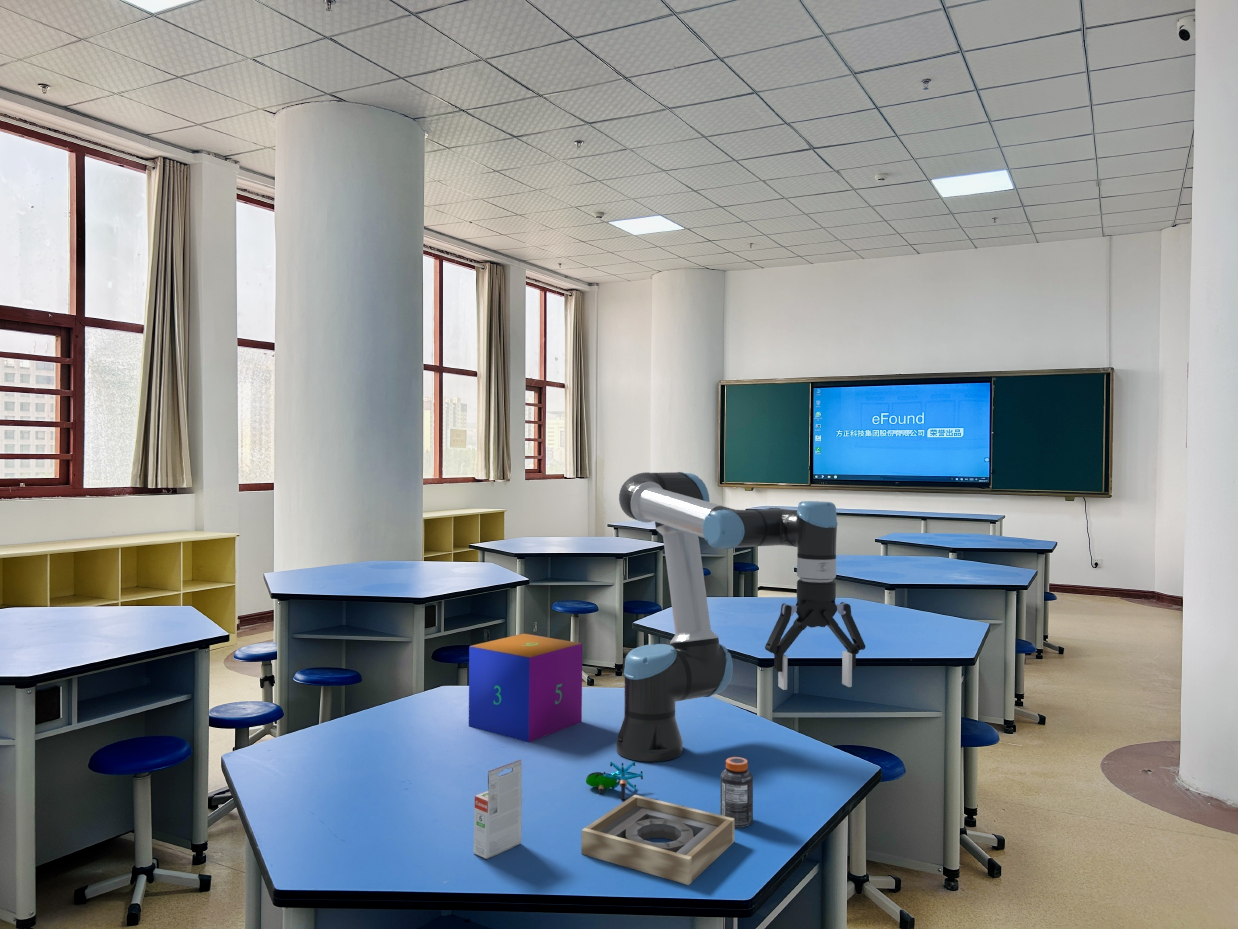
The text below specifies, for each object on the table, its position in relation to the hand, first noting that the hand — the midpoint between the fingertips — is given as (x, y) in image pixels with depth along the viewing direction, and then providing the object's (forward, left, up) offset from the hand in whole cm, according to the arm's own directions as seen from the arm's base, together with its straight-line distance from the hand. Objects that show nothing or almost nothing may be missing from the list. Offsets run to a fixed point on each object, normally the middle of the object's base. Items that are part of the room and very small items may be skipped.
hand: (814, 686), depth 168 cm
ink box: (-38, -51, -22) cm, 68 cm away
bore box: (-15, -36, -22) cm, 45 cm away
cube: (-76, +7, -22) cm, 80 cm away
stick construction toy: (-34, -20, -22) cm, 45 cm away
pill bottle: (-8, -19, -22) cm, 30 cm away
